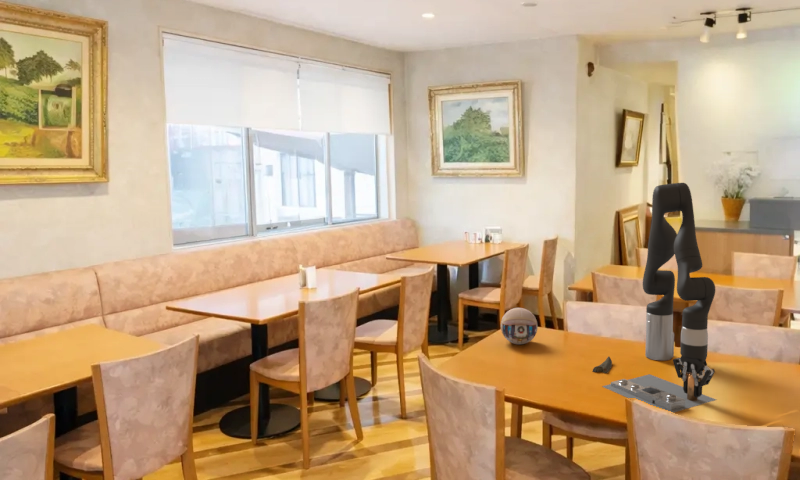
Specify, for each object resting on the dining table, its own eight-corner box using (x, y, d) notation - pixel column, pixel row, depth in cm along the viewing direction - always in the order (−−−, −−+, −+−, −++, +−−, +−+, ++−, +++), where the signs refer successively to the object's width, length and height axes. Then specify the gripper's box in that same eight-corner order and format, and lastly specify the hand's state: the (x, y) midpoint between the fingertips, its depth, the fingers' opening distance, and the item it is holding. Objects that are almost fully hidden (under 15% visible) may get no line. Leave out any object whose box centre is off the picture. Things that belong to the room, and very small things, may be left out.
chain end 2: (649, 392, 197) (650, 382, 197) (684, 407, 185) (685, 396, 185) (636, 396, 195) (636, 386, 194) (670, 411, 183) (671, 400, 182)
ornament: (493, 344, 254) (492, 308, 252) (515, 336, 264) (515, 302, 262) (523, 351, 243) (523, 314, 241) (544, 343, 253) (544, 307, 251)
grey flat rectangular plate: (649, 375, 213) (649, 374, 213) (716, 400, 190) (716, 399, 190) (601, 387, 204) (601, 386, 204) (666, 415, 181) (666, 414, 181)
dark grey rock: (605, 376, 215) (605, 366, 214) (591, 373, 218) (591, 363, 217) (620, 366, 224) (620, 357, 224) (606, 364, 227) (606, 354, 227)
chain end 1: (624, 382, 207) (624, 377, 207) (666, 399, 192) (666, 394, 191) (610, 385, 204) (610, 380, 204) (652, 403, 189) (652, 397, 189)
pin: (691, 396, 193) (692, 372, 192) (699, 399, 190) (700, 375, 189) (684, 398, 192) (685, 373, 191) (693, 401, 189) (693, 376, 188)
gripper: (723, 345, 184) (720, 400, 186) (683, 333, 196) (681, 385, 199) (705, 349, 181) (703, 405, 183) (666, 337, 193) (665, 389, 196)
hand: (692, 394), depth 191 cm, fingers closed on pin, 3 cm apart
